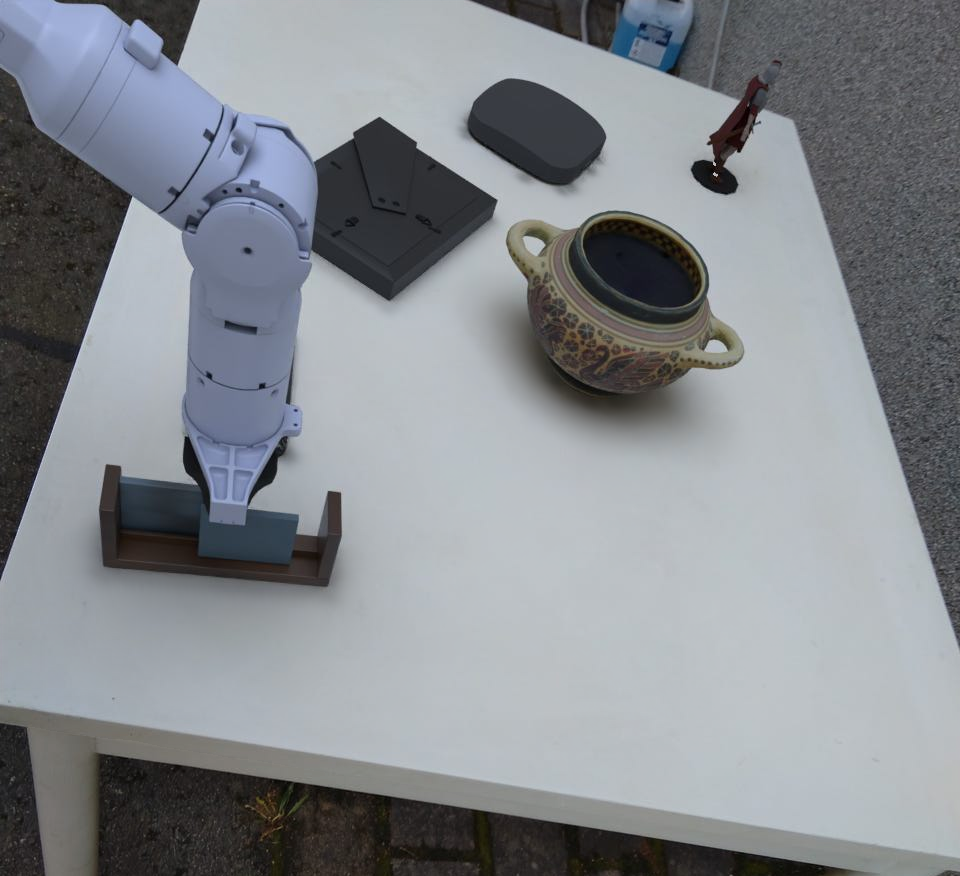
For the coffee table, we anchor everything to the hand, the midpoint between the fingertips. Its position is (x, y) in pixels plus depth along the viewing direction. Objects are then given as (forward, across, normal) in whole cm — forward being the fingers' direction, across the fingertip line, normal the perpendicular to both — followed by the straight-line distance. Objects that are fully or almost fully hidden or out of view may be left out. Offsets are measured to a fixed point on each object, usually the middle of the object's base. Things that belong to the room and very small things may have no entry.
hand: (225, 504), depth 63 cm
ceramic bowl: (+7, +28, -34) cm, 45 cm away
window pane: (+6, 0, -2) cm, 6 cm away
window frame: (+7, +1, 0) cm, 7 cm away
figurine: (+7, +68, -58) cm, 90 cm away
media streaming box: (+7, +67, -33) cm, 75 cm away
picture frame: (+7, +46, -14) cm, 48 cm away
